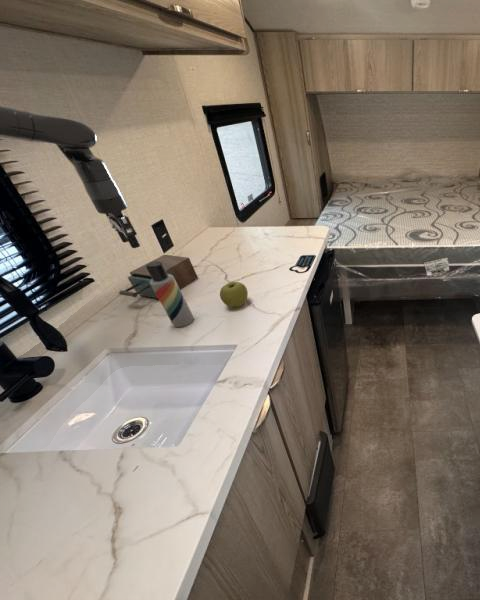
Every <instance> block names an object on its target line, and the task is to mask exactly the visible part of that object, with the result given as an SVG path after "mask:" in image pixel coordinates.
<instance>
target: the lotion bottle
mask: <svg viewBox="0 0 480 600" xmlns="http://www.w3.org/2000/svg"><path fill="white" fill-rule="evenodd" d="M150 262H151V261H150ZM148 263H149V262H148ZM146 264H147V263H146ZM146 269H147V271H148V272H149V274H150V276H151V278H152V280H151V281H150V284H151V286H152V288H153V290H154V292H155V294H156V295H157V297H158V298H157V299H158V300H159V302H160V305H161V306H162V308H163V309H164V312H165V313H166V315H167V317H168V319H169V320H170V322H171V323H172V325H173V327H175V328H183V327H186V326H188V325H190V324H192V323H194V321H195V317H194V314H193V312H192V310H191V308H190V307H189V304H188V302H187V300H186V298H185V296H184V294H183V293H182V291H181V290H180V289H179V287H178V285H177V283H176V281H175V279H174V277H173V276H172V275H170V274H167V272H166V270H165V268H164V266H163V264H162V263H161V262H151V263H149V264H147V266H146Z"/></svg>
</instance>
